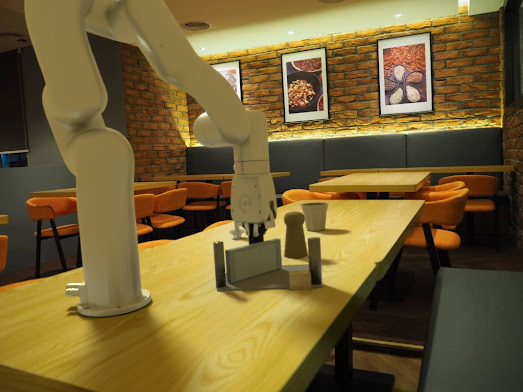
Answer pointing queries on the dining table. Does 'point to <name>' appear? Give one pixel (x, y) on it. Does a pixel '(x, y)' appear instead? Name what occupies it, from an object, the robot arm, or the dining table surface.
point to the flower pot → (315, 215)
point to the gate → (253, 259)
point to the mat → (267, 279)
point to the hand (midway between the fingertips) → (257, 252)
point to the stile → (314, 274)
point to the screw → (236, 231)
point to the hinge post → (219, 264)
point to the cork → (295, 236)
